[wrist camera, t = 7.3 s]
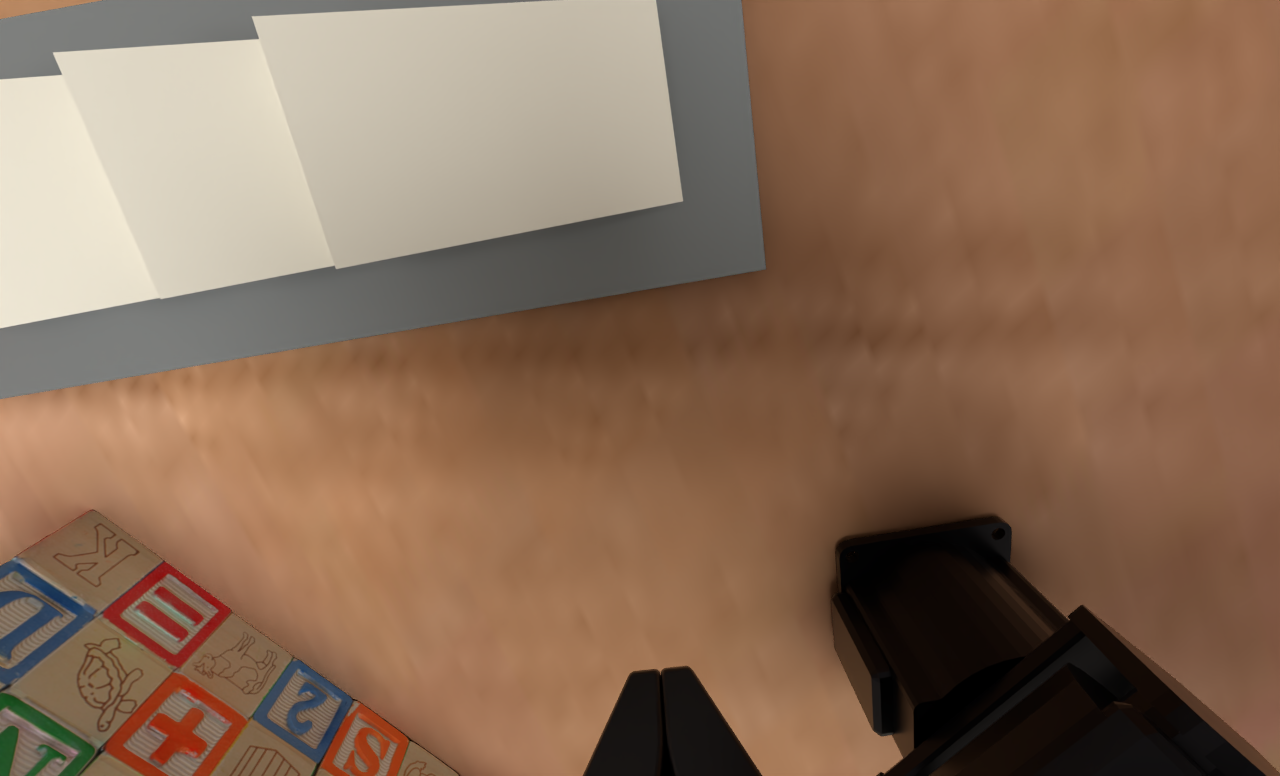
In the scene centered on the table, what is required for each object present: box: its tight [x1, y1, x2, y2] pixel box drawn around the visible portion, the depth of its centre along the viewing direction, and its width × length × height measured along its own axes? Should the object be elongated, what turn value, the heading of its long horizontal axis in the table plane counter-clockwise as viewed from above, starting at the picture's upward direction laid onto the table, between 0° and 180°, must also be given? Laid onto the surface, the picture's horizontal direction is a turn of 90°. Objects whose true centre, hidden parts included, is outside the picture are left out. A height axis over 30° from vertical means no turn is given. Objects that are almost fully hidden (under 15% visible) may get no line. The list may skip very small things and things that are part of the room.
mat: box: [0, 0, 766, 399], centre depth 18 cm, size 26×10×1 cm, turn 99°
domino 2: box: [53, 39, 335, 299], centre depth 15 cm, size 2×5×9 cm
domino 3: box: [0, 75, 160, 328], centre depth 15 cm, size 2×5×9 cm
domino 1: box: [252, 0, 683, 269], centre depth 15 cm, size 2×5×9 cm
